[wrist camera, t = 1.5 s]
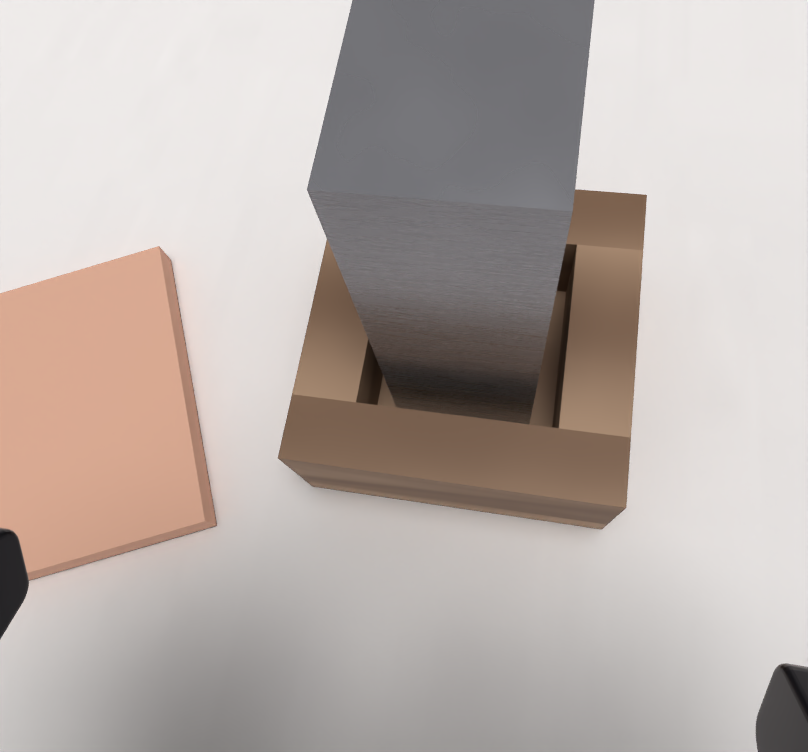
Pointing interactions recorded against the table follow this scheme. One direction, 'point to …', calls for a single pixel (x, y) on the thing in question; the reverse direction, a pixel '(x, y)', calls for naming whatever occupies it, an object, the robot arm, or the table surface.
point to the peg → (455, 190)
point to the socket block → (483, 438)
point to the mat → (98, 415)
